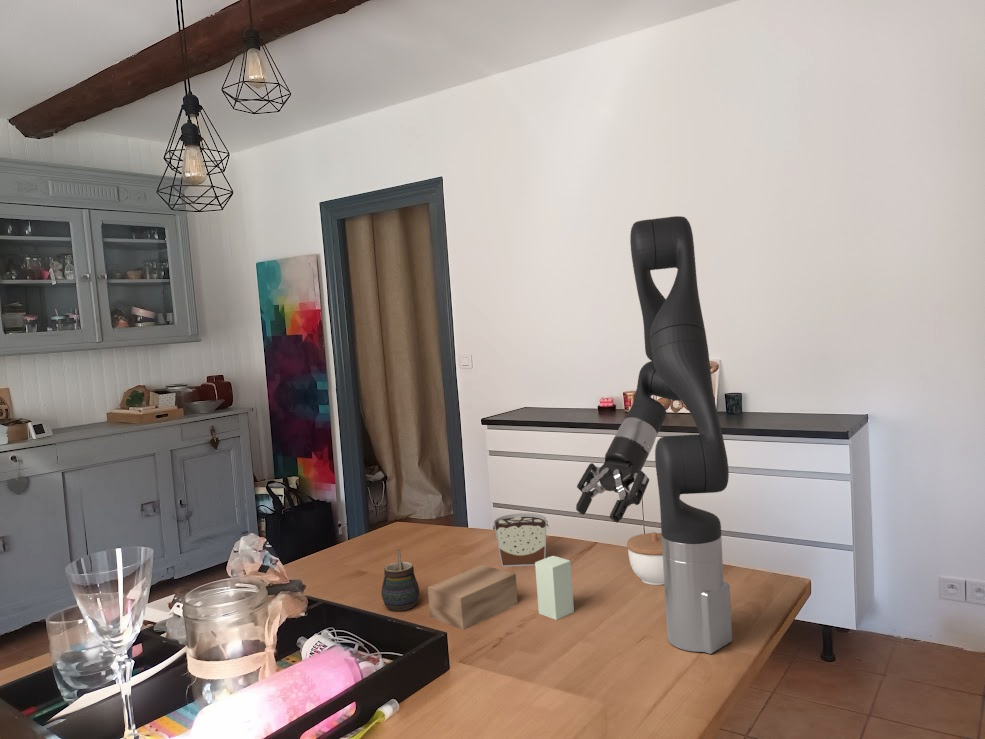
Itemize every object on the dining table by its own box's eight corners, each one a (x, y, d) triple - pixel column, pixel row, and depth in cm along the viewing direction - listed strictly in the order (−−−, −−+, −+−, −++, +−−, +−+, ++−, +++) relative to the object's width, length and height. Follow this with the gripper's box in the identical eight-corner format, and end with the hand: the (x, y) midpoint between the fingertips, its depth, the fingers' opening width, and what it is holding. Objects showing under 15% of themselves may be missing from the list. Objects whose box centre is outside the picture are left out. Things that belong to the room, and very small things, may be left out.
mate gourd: (385, 617, 137) (380, 565, 137) (380, 602, 145) (375, 552, 144) (423, 610, 139) (419, 558, 139) (416, 596, 147) (412, 547, 146)
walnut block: (517, 604, 139) (515, 573, 139) (463, 631, 129) (460, 598, 129) (484, 594, 146) (482, 564, 145) (430, 618, 136) (427, 587, 135)
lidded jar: (671, 593, 138) (668, 544, 138) (619, 584, 145) (616, 537, 144) (693, 574, 147) (690, 528, 146) (643, 566, 153) (641, 522, 153)
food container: (552, 555, 165) (549, 511, 164) (552, 564, 159) (548, 519, 158) (497, 557, 166) (494, 513, 165) (495, 566, 160) (491, 521, 159)
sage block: (574, 612, 133) (570, 560, 133) (556, 620, 131) (552, 567, 130) (556, 605, 137) (552, 555, 136) (538, 613, 134) (535, 562, 133)
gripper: (594, 432, 150) (558, 500, 144) (651, 438, 139) (615, 512, 133) (613, 452, 154) (579, 520, 148) (670, 460, 143) (635, 533, 137)
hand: (596, 516), depth 140 cm, fingers open, 8 cm apart
